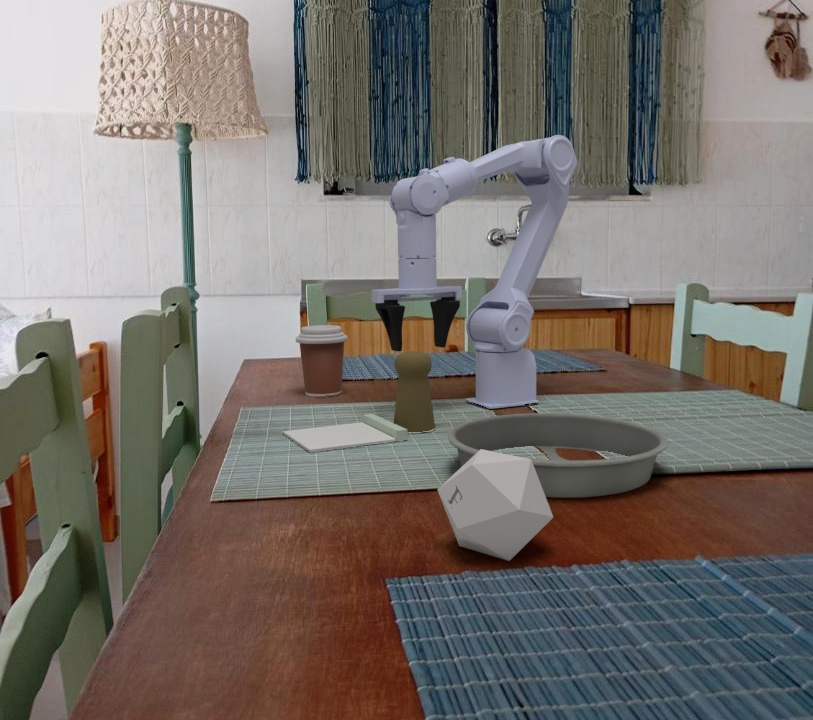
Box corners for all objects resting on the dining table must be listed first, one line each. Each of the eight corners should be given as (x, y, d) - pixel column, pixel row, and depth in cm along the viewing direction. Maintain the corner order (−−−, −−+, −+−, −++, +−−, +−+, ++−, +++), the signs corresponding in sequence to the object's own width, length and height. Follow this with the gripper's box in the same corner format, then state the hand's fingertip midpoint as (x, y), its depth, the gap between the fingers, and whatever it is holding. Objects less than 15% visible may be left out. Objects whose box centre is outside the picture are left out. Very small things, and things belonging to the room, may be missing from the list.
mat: (362, 424, 119) (362, 422, 119) (396, 441, 108) (396, 439, 108) (282, 434, 114) (282, 431, 114) (310, 452, 103) (309, 449, 103)
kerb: (372, 423, 120) (372, 413, 119) (407, 440, 109) (407, 429, 109) (363, 424, 119) (363, 414, 119) (397, 441, 108) (397, 430, 108)
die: (455, 533, 75) (409, 462, 70) (538, 483, 75) (499, 409, 70) (489, 599, 68) (441, 526, 63) (581, 544, 68) (541, 466, 63)
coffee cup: (287, 397, 142) (285, 329, 141) (313, 388, 151) (310, 324, 149) (334, 400, 139) (332, 330, 137) (357, 391, 147) (356, 325, 145)
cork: (440, 425, 118) (439, 350, 116) (428, 434, 112) (426, 355, 111) (401, 423, 120) (399, 349, 118) (386, 432, 114) (385, 354, 112)
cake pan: (636, 518, 77) (637, 472, 77) (409, 486, 89) (408, 445, 88) (686, 458, 98) (688, 422, 98) (497, 438, 110) (497, 406, 110)
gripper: (444, 257, 129) (445, 342, 131) (361, 259, 122) (364, 349, 124) (469, 257, 123) (469, 347, 125) (383, 259, 116) (385, 354, 118)
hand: (418, 348), depth 124 cm, fingers open, 7 cm apart
